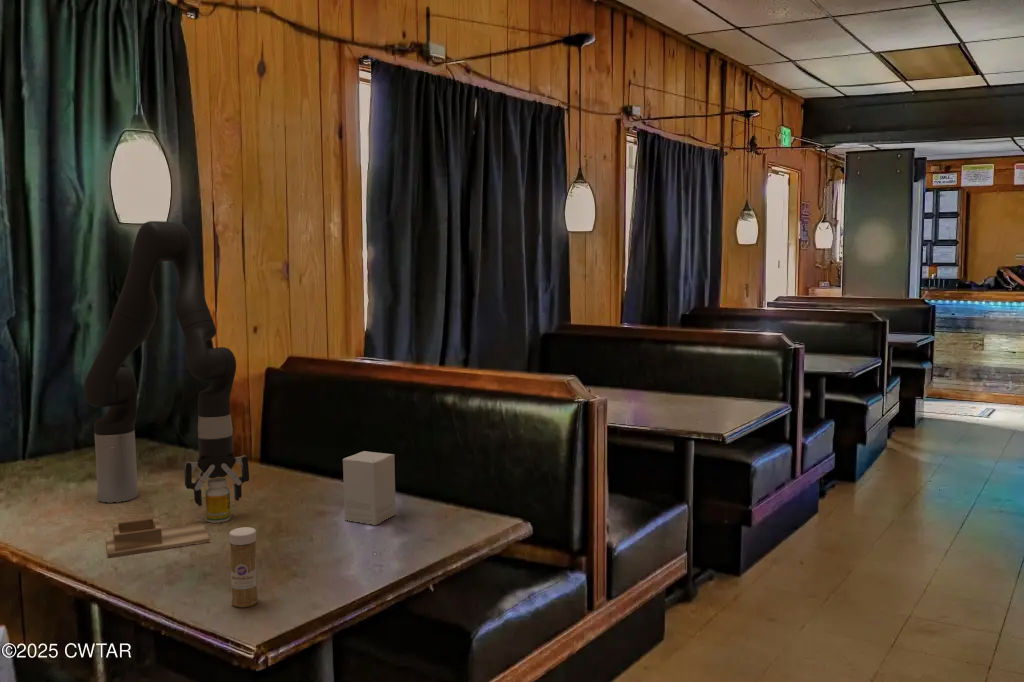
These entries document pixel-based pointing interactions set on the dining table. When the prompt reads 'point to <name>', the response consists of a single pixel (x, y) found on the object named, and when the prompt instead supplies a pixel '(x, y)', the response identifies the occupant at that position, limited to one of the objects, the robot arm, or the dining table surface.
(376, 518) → the supplement box
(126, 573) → the dining table surface
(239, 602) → the sprinkles bottle
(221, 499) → the supplement bottle
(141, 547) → the wooden stand
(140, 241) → the robot arm
